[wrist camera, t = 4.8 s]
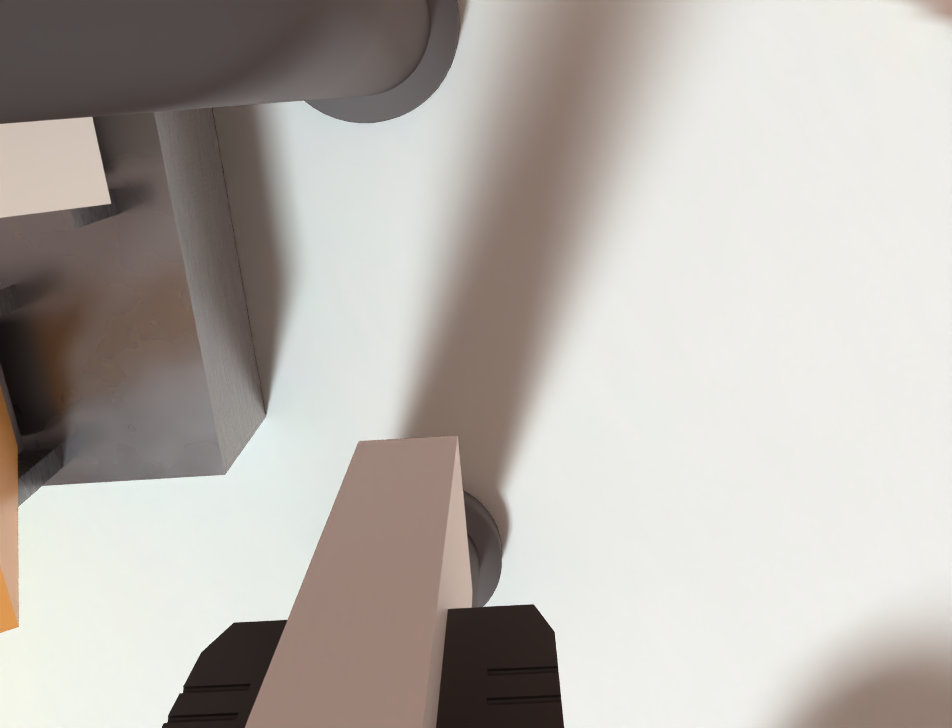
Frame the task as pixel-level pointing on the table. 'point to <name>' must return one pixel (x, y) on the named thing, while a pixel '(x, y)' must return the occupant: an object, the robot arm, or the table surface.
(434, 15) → the cable post
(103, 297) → the breaker panel
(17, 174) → the ivory paddle
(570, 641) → the table surface
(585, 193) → the table surface
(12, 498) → the orange paddle
